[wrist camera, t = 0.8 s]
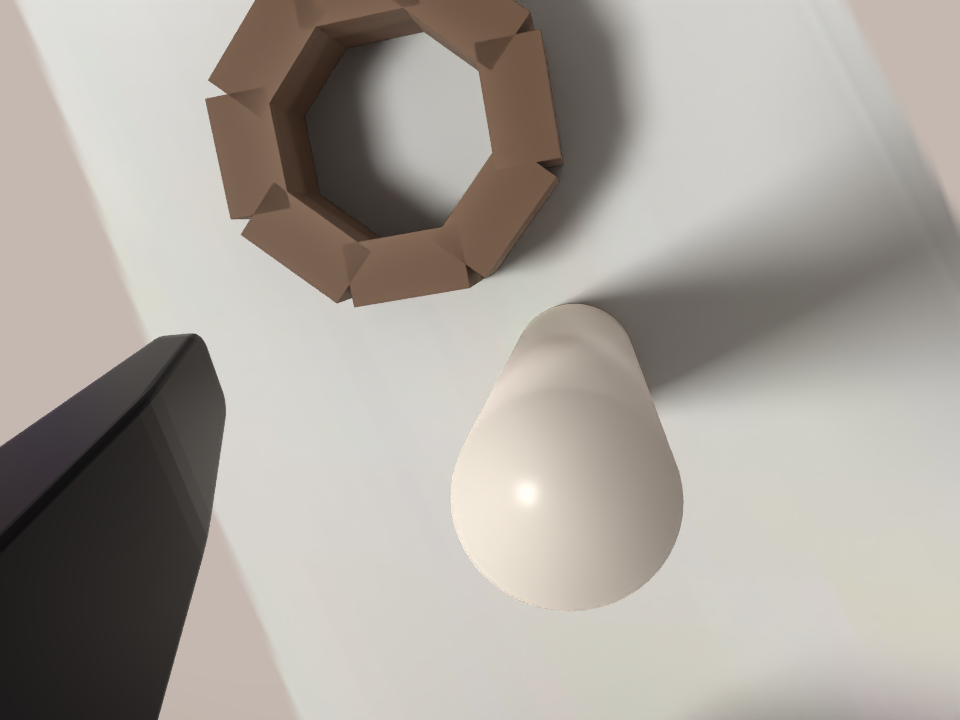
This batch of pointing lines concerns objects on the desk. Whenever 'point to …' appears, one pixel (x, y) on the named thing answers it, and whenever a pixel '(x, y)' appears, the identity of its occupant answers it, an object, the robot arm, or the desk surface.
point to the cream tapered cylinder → (568, 469)
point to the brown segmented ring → (289, 162)
